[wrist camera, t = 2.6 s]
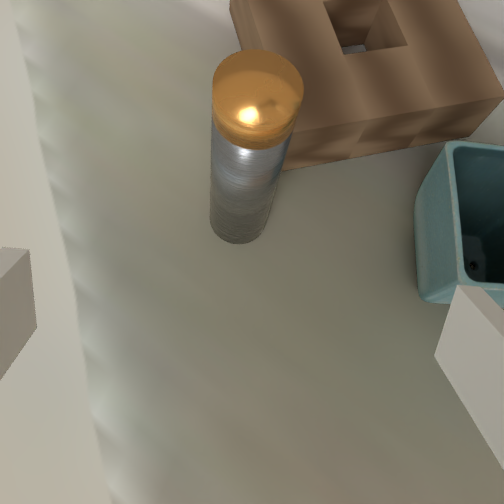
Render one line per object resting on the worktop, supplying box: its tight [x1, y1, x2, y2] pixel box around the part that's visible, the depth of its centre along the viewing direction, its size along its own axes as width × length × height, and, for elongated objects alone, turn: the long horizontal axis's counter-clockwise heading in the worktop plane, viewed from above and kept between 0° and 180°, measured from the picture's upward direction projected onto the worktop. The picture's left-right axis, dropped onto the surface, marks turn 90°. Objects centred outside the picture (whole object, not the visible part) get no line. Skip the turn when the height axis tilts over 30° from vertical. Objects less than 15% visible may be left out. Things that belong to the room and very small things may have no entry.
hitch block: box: [229, 0, 504, 171], centre depth 37 cm, size 16×16×5 cm
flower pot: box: [414, 140, 504, 308], centre depth 30 cm, size 9×9×9 cm
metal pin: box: [210, 49, 304, 244], centre depth 27 cm, size 4×4×14 cm
